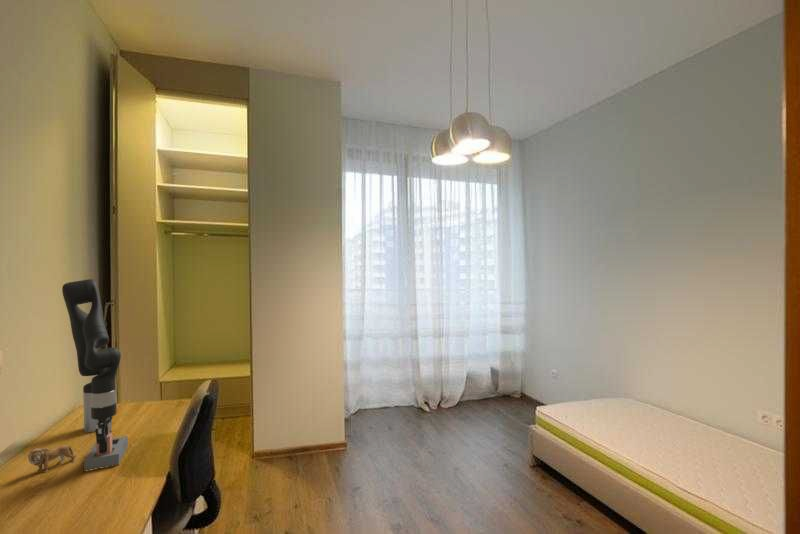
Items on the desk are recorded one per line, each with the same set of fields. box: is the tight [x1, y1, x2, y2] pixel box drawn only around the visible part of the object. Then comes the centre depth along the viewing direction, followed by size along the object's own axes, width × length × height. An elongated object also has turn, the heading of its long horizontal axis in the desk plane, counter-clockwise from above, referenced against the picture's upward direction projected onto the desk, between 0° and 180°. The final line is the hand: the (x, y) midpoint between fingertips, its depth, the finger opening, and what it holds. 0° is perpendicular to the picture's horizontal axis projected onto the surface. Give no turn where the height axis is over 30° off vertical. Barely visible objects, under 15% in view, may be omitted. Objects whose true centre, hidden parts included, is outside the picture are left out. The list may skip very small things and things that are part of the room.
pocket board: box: [83, 435, 129, 472], centre depth 150 cm, size 18×10×4 cm, turn 26°
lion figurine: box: [27, 444, 77, 473], centre depth 143 cm, size 15×5×9 cm, turn 163°
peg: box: [95, 432, 113, 456], centre depth 146 cm, size 4×4×10 cm
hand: (104, 450), depth 145 cm, fingers closed on peg, 4 cm apart
